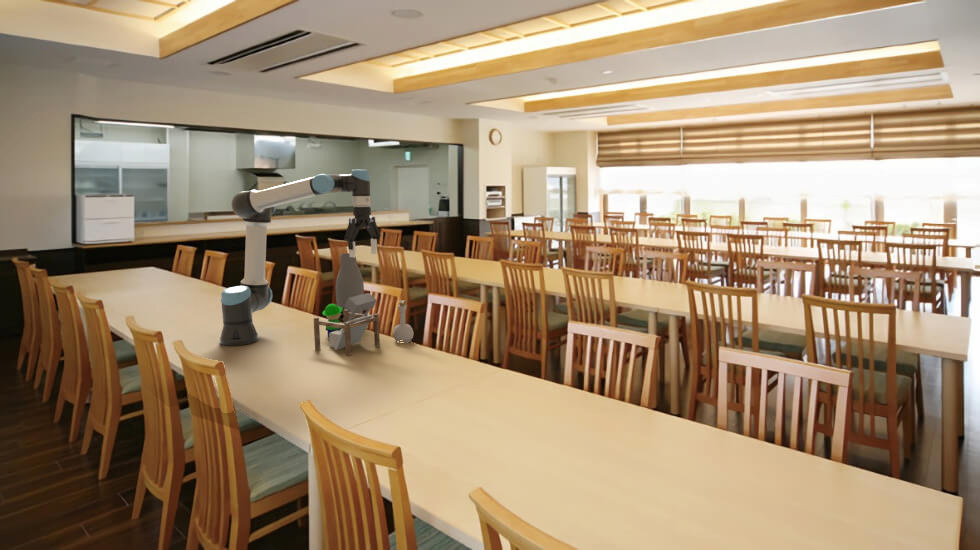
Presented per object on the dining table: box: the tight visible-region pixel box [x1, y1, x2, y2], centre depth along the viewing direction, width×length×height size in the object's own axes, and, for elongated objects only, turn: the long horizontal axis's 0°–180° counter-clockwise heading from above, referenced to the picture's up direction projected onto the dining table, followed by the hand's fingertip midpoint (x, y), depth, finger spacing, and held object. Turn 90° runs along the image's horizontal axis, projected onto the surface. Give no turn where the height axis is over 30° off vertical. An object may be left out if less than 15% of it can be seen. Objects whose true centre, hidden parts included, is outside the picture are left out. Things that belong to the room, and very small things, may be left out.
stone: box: [328, 330, 345, 350], centre depth 243 cm, size 6×5×6 cm
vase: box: [335, 252, 365, 324], centre depth 274 cm, size 13×13×35 cm
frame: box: [313, 310, 381, 357], centre depth 240 cm, size 18×18×14 cm
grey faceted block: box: [333, 292, 378, 351], centre depth 237 cm, size 22×14×6 cm
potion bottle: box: [392, 299, 414, 344], centre depth 249 cm, size 9×9×18 cm
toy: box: [321, 303, 344, 338], centre depth 257 cm, size 9×9×15 cm
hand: (363, 255), depth 251 cm, fingers open, 13 cm apart
